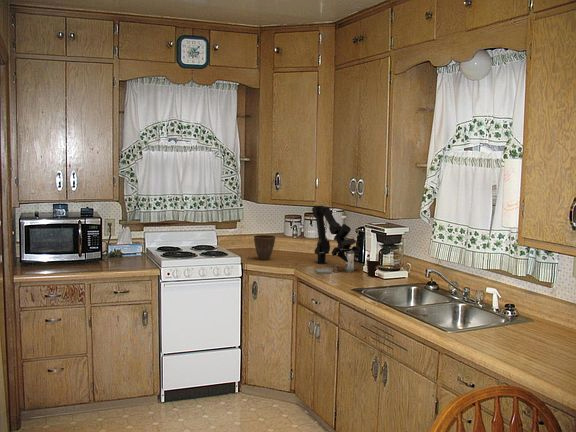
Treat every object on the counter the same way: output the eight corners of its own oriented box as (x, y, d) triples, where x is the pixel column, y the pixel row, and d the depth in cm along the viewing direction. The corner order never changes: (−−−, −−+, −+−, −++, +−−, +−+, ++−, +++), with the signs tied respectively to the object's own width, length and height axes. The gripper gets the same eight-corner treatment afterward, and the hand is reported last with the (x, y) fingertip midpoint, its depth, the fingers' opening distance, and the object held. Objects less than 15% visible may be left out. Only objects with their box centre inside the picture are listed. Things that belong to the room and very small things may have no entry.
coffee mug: (369, 277, 358) (369, 261, 357) (363, 274, 366) (364, 258, 366) (387, 277, 361) (387, 260, 360) (381, 274, 370) (381, 258, 369)
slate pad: (315, 270, 376) (315, 269, 376) (329, 270, 377) (329, 269, 377) (317, 273, 367) (317, 271, 367) (331, 273, 368) (331, 271, 368)
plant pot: (274, 261, 405) (275, 238, 404) (252, 260, 405) (253, 237, 404) (275, 257, 420) (275, 235, 419) (253, 257, 420) (254, 234, 419)
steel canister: (344, 270, 378) (344, 250, 377) (352, 270, 379) (353, 250, 378) (346, 272, 373) (346, 251, 372) (354, 272, 374) (355, 251, 372)
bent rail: (331, 269, 382) (331, 264, 381) (337, 269, 382) (338, 264, 382) (334, 273, 370) (335, 268, 369) (342, 273, 370) (342, 268, 370)
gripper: (334, 234, 373) (343, 254, 364) (359, 233, 382) (368, 253, 373) (327, 245, 380) (336, 265, 372) (351, 243, 389) (360, 263, 381)
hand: (350, 261), depth 374 cm, fingers closed on steel canister, 5 cm apart
